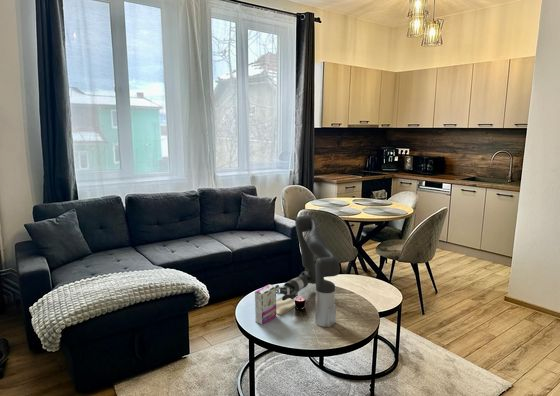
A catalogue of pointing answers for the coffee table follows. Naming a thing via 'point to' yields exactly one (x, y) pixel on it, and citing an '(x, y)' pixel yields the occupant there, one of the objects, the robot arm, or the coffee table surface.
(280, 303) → the beige board
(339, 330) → the coffee table surface
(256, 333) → the coffee table surface
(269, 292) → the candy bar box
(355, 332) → the coffee table surface
